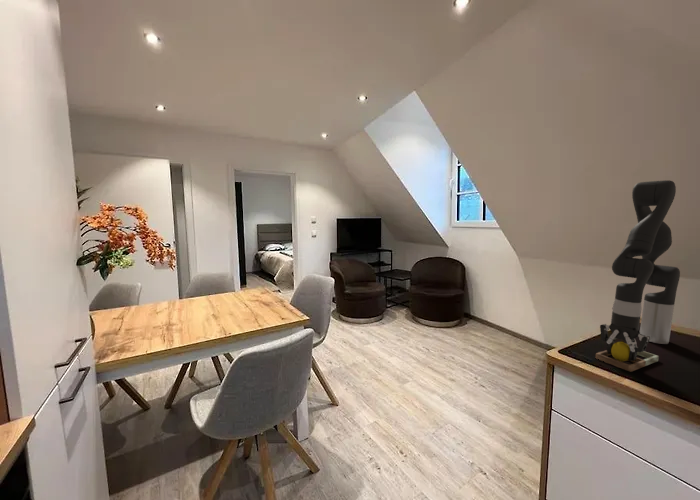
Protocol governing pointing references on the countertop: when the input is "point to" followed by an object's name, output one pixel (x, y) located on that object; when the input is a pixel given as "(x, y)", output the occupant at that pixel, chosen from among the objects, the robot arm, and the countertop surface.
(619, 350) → the lemon
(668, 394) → the countertop surface
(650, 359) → the frame
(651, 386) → the countertop surface
